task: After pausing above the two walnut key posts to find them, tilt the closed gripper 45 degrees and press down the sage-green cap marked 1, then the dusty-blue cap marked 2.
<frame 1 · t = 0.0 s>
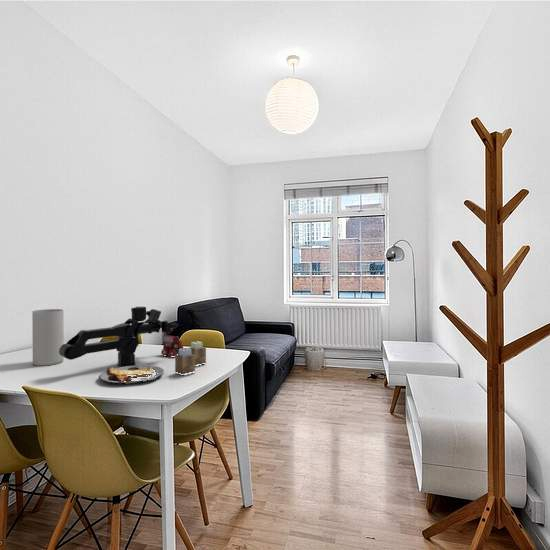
hand: (173, 323, 187), 17 cm above the table, tool horizontal, fingers open, 9 cm apart
food plate: (132, 378, 149), on the table
cylinder vase: (48, 363, 171), on the table
toy fire truck: (172, 356, 187), on the table
key post 1: (196, 364, 170), on the table
key 2: (185, 358, 155), point 7 cm above the table, slide at 0.0 cm
key 1: (196, 350, 169), point 7 cm above the table, slide at 0.0 cm
key post 2: (185, 373, 155), on the table
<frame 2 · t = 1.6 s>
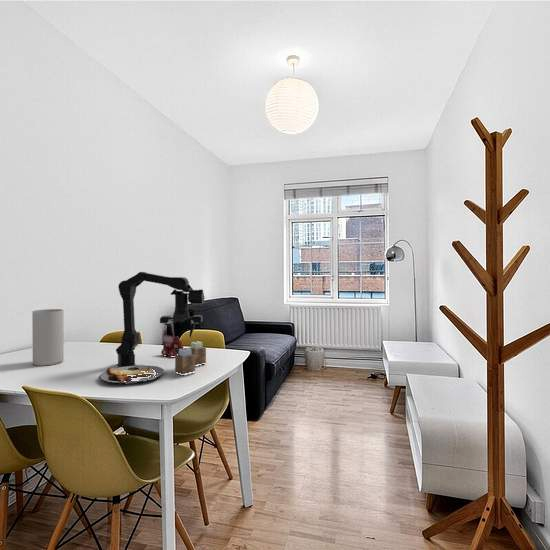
hand: (181, 337, 167), 13 cm above the table, tool pointing down, fingers open, 8 cm apart
nothing on the table moved.
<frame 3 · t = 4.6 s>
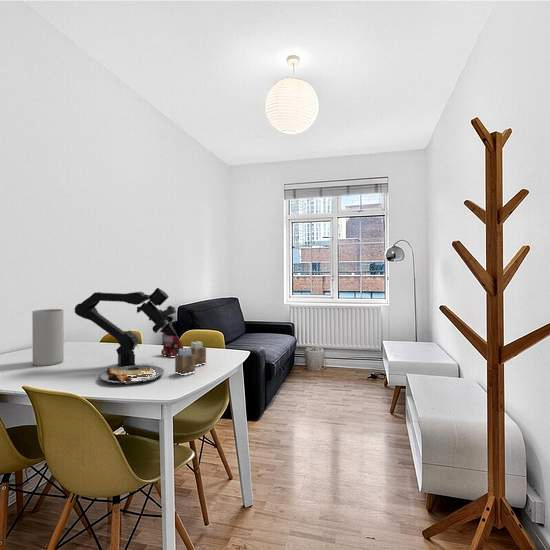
hand: (176, 336, 169), 14 cm above the table, tool tilted 45°, fingers closed
nothing on the table moved.
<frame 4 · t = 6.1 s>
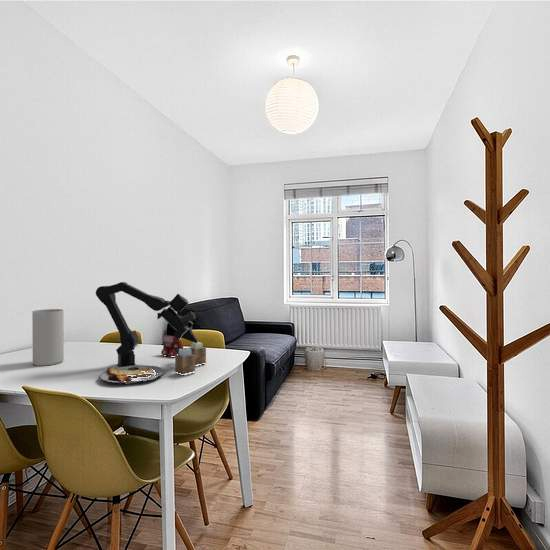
hand: (196, 342, 169), 11 cm above the table, tool tilted 45°, fingers closed
key 1: (196, 351, 169), point 6 cm above the table, slide at -0.2 cm, touching gripper
everything else where it was.
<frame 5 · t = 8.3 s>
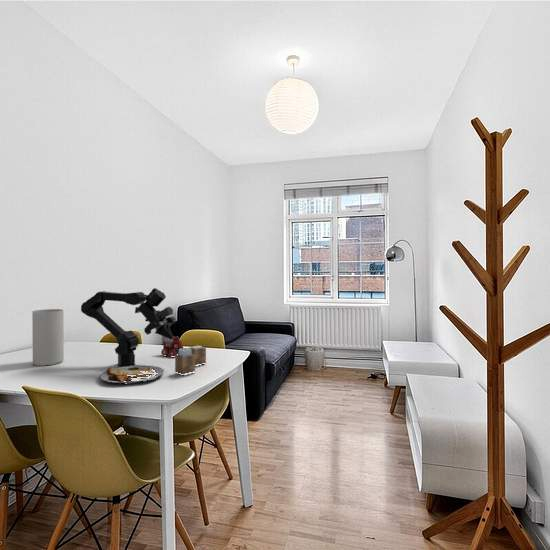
hand: (172, 338, 163), 14 cm above the table, tool tilted 45°, fingers closed
key 1: (196, 355, 170), point 5 cm above the table, slide at -2.0 cm
everything else where it was.
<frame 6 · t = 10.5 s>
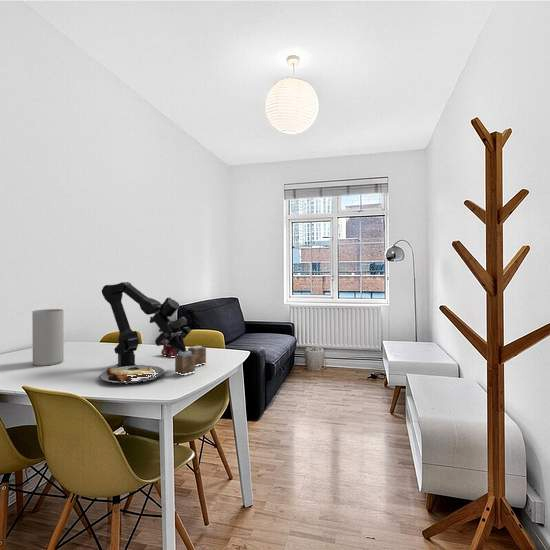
hand: (185, 350, 155), 10 cm above the table, tool tilted 45°, fingers closed
key 2: (185, 360, 155), point 5 cm above the table, slide at -1.1 cm, touching gripper
everything else where it was.
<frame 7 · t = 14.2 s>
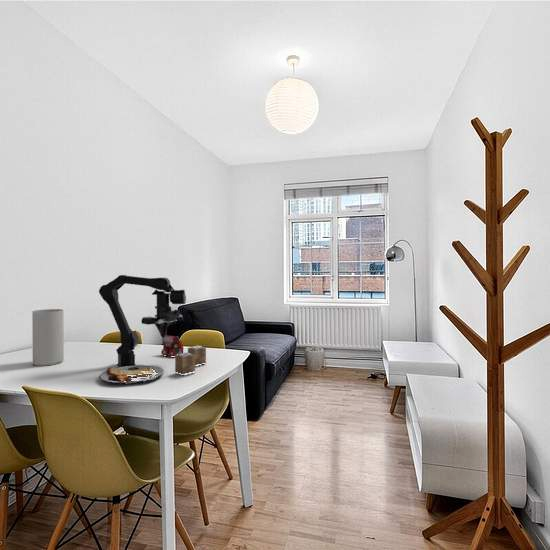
hand: (162, 337, 169), 13 cm above the table, tool pointing down, fingers closed
key 2: (185, 362, 155), point 5 cm above the table, slide at -2.0 cm
everything else where it was.
at the end: key 1 slide at -2.0 cm; key 2 slide at -2.0 cm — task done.
